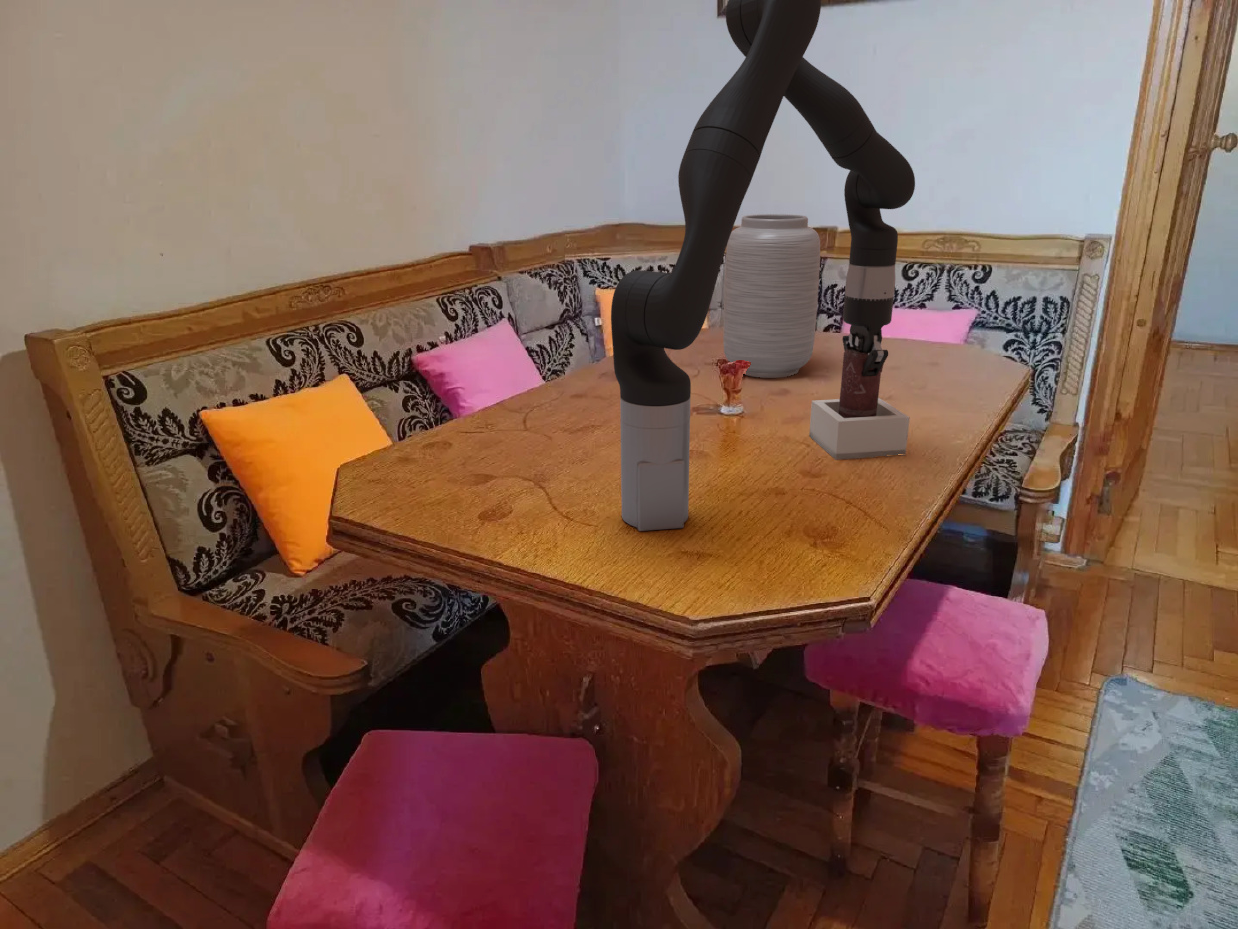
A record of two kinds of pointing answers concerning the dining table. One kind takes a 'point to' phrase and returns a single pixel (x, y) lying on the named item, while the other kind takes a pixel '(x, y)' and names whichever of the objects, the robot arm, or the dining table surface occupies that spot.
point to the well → (858, 431)
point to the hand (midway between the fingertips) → (859, 398)
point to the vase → (771, 294)
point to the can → (858, 387)
